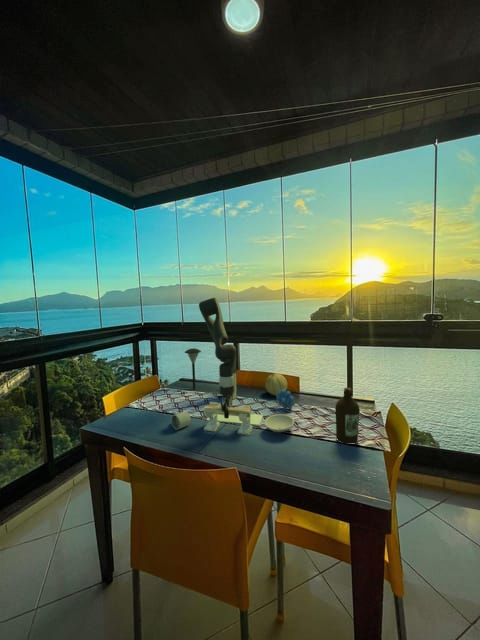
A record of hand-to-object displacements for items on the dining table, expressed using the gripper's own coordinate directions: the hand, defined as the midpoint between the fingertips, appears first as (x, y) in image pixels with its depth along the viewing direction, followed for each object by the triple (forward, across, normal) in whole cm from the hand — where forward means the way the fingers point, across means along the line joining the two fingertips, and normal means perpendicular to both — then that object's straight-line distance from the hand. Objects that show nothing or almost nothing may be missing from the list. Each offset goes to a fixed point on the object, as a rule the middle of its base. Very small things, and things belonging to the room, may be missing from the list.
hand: (227, 416), depth 144 cm
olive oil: (+8, -3, +58) cm, 58 cm away
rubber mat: (+7, -14, 0) cm, 16 cm away
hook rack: (+7, -1, 0) cm, 7 cm away
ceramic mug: (+8, +1, -26) cm, 28 cm away
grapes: (+8, -32, +26) cm, 42 cm away
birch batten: (-1, 0, 0) cm, 1 cm away
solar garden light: (+8, -53, -42) cm, 68 cm away
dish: (+8, -5, +26) cm, 27 cm away
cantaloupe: (+8, -55, +18) cm, 58 cm away
